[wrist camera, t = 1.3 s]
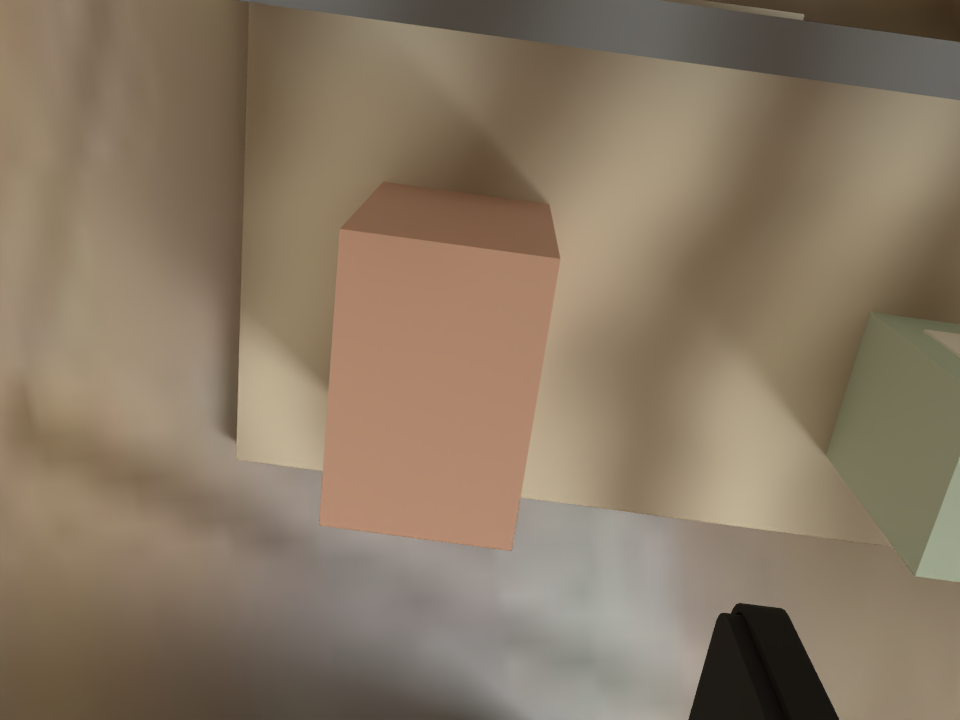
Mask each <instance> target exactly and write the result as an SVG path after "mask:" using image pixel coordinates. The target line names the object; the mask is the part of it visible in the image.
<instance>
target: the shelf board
mask: <svg viewBox="0 0 960 720" xmlns="http://www.w3.org/2000/svg"><path fill="white" fill-rule="evenodd" d="M238 1H245V2H249V14H248V50H247V86H246V122H245V158H244V193H243V229H242V265H241V301H240V337H239V373H238V409H237V445H236V460H244V461H251V462H259V463H266V464H274V465H281V466H289V467H296V468H304V469H311V470H319V471H323V462H324V447H325V433H326V419H327V404H328V390H329V376H330V361H331V347H332V333H333V318H334V304H335V290H336V275H337V261H338V247H339V232H340V228H341V227H342V226H343V225H344V224H345V223H346V222H347V221H348V219H349V218H350V217H351V216H352V215H353V214H354V213H355V212H356V211H357V210H358V209H359V207H360V206H361V205H362V204H363V203H364V202H365V201H366V200H367V199H368V198H369V197H370V196H371V194H372V193H373V192H374V191H375V190H376V189H377V188H378V187H379V186H380V185H381V184H382V183H383V182H389V183H397V184H404V185H411V186H419V187H426V188H433V189H441V190H448V191H455V192H463V193H470V194H477V195H485V196H492V197H499V198H507V199H514V200H521V201H529V202H536V203H543V204H550V209H551V214H552V219H553V224H554V229H555V234H556V239H557V244H558V249H559V254H560V265H559V271H558V276H557V282H556V288H555V294H554V300H553V306H552V312H551V318H550V324H549V330H548V336H547V342H546V348H545V354H544V360H543V366H542V372H541V378H540V384H539V390H538V396H537V402H536V408H535V414H534V420H533V426H532V432H531V438H530V444H529V450H528V456H527V462H526V468H525V474H524V480H523V486H522V492H521V498H529V499H536V500H544V501H551V502H559V503H566V504H574V505H581V506H589V507H596V508H604V509H611V510H619V511H626V512H634V513H641V514H649V515H656V516H664V517H671V518H679V519H686V520H694V521H701V522H709V523H716V524H724V525H731V526H739V527H746V528H754V529H761V530H769V531H776V532H784V533H791V534H799V535H806V536H814V537H821V538H829V539H836V540H844V541H851V542H859V543H866V544H874V545H881V546H889V547H893V546H892V545H891V543H890V542H889V541H888V539H887V538H886V536H885V535H884V534H883V532H882V531H881V530H880V528H879V527H878V526H877V524H876V523H875V522H874V520H873V519H872V518H871V516H870V515H869V514H868V512H867V511H866V509H865V508H864V507H863V505H862V504H861V503H860V501H859V500H858V499H857V497H856V496H855V495H854V493H853V492H852V491H851V489H850V488H849V487H848V485H847V484H846V482H845V481H844V480H843V478H842V477H841V476H840V474H839V473H838V472H837V470H836V469H835V468H834V466H833V465H832V464H831V462H830V461H829V460H828V458H827V457H826V453H827V450H828V447H829V444H830V440H831V437H832V434H833V431H834V427H835V424H836V421H837V418H838V415H839V411H840V408H841V405H842V402H843V398H844V395H845V392H846V389H847V386H848V382H849V379H850V376H851V373H852V369H853V366H854V363H855V360H856V357H857V353H858V350H859V347H860V344H861V340H862V337H863V334H864V331H865V327H866V324H867V321H868V318H869V315H870V312H873V313H881V314H888V315H895V316H903V317H910V318H917V319H925V320H932V321H939V322H947V323H954V324H960V42H955V41H948V40H941V39H934V38H926V37H919V36H912V35H905V34H898V33H890V32H883V31H876V30H869V29H862V28H854V27H847V26H840V25H833V24H825V23H818V22H811V21H804V20H803V19H804V15H805V14H799V13H792V12H785V11H778V10H771V9H763V8H756V7H749V6H742V5H735V4H727V3H720V2H713V1H706V0H238Z"/></svg>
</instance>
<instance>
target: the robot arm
mask: <svg viewBox="0 0 960 720" xmlns="http://www.w3.org/2000/svg"><path fill="white" fill-rule="evenodd" d="M689 720H839V718H838V716H837V714H836V712H835V710H834V708H833V706H832V704H831V702H830V700H829V698H828V696H827V693H826V691H825V689H824V687H823V685H822V683H821V681H820V679H819V677H818V675H817V673H816V671H815V669H814V667H813V665H812V663H811V661H810V659H809V657H808V655H807V652H806V650H805V648H804V646H803V644H802V642H801V640H800V638H799V636H798V634H797V632H796V630H795V628H794V626H793V624H792V622H791V620H790V618H789V616H788V614H787V613H786V611H785V610H783V609H781V608H775V607H767V606H759V605H750V604H742V603H739V604H736V605H735V607H734V608H733V610H732V612H731V614H729V613H721V614H720V615H719V616H718V618H717V621H716V624H715V627H714V631H713V635H712V638H711V642H710V645H709V649H708V652H707V656H706V659H705V663H704V667H703V670H702V674H701V677H700V681H699V684H698V688H697V691H696V695H695V699H694V702H693V706H692V709H691V713H690V716H689Z"/></svg>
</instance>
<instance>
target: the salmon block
mask: <svg viewBox="0 0 960 720" xmlns="http://www.w3.org/2000/svg"><path fill="white" fill-rule="evenodd" d="M559 265H560V254H559V249H558V244H557V239H556V234H555V229H554V224H553V219H552V214H551V209H550V204H543V203H536V202H529V201H521V200H514V199H507V198H499V197H492V196H485V195H477V194H470V193H463V192H455V191H448V190H441V189H433V188H426V187H419V186H411V185H404V184H397V183H389V182H383V183H382V184H381V185H380V186H379V187H378V188H377V189H376V190H375V191H374V192H373V193H372V194H371V196H370V197H369V198H368V199H367V200H366V201H365V202H364V203H363V204H362V205H361V206H360V207H359V209H358V210H357V211H356V212H355V213H354V214H353V215H352V216H351V217H350V218H349V219H348V221H347V222H346V223H345V224H344V225H343V226H342V227H341V228H340V232H339V247H338V261H337V275H336V290H335V304H334V318H333V333H332V347H331V361H330V376H329V390H328V404H327V419H326V433H325V447H324V462H323V476H322V490H321V505H320V519H319V525H320V526H328V527H335V528H343V529H350V530H358V531H365V532H373V533H381V534H388V535H396V536H403V537H411V538H418V539H426V540H433V541H441V542H448V543H456V544H463V545H471V546H478V547H486V548H493V549H501V550H509V551H512V546H513V540H514V534H515V528H516V522H517V516H518V510H519V504H520V498H521V492H522V486H523V480H524V474H525V468H526V462H527V456H528V450H529V444H530V438H531V432H532V426H533V420H534V414H535V408H536V402H537V396H538V390H539V384H540V378H541V372H542V366H543V360H544V354H545V348H546V342H547V336H548V330H549V324H550V318H551V312H552V306H553V300H554V294H555V288H556V282H557V276H558V271H559Z"/></svg>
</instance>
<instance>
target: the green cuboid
mask: <svg viewBox="0 0 960 720" xmlns="http://www.w3.org/2000/svg"><path fill="white" fill-rule="evenodd" d="M826 457H827V458H828V460H829V461H830V462H831V464H832V465H833V466H834V468H835V469H836V470H837V472H838V473H839V474H840V476H841V477H842V478H843V480H844V481H845V482H846V484H847V485H848V487H849V488H850V489H851V491H852V492H853V493H854V495H855V496H856V497H857V499H858V500H859V501H860V503H861V504H862V505H863V507H864V508H865V509H866V511H867V512H868V514H869V515H870V516H871V518H872V519H873V520H874V522H875V523H876V524H877V526H878V527H879V528H880V530H881V531H882V532H883V534H884V535H885V536H886V538H887V539H888V541H889V542H890V543H891V545H892V546H893V547H894V549H895V550H896V551H897V553H898V554H899V555H900V557H901V558H902V559H903V561H904V562H905V563H906V565H907V566H908V568H909V569H910V570H911V572H912V573H913V574H914V576H916V577H924V578H931V579H939V580H946V581H954V582H960V324H954V323H947V322H939V321H932V320H925V319H917V318H910V317H903V316H895V315H888V314H881V313H873V312H870V315H869V318H868V321H867V324H866V327H865V331H864V334H863V337H862V340H861V344H860V347H859V350H858V353H857V357H856V360H855V363H854V366H853V369H852V373H851V376H850V379H849V382H848V386H847V389H846V392H845V395H844V398H843V402H842V405H841V408H840V411H839V415H838V418H837V421H836V424H835V427H834V431H833V434H832V437H831V440H830V444H829V447H828V450H827V453H826Z"/></svg>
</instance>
